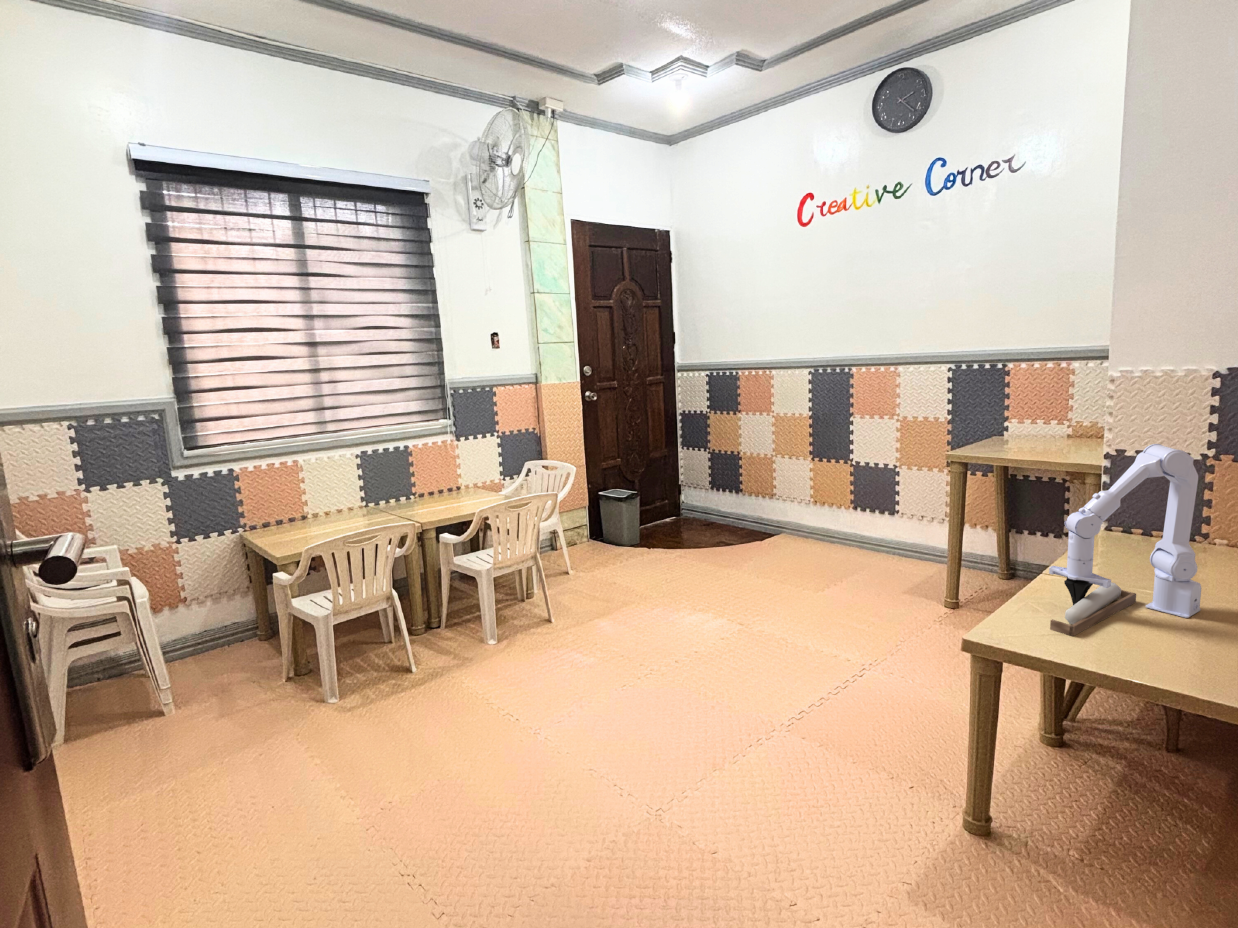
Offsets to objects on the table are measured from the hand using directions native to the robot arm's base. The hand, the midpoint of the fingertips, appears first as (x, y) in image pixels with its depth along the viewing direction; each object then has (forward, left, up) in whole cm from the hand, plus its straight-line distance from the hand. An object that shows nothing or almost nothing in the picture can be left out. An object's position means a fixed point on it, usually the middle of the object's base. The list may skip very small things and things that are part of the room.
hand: (1077, 605), depth 190 cm
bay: (-4, 0, -1) cm, 4 cm away
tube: (-3, -2, -2) cm, 4 cm away
